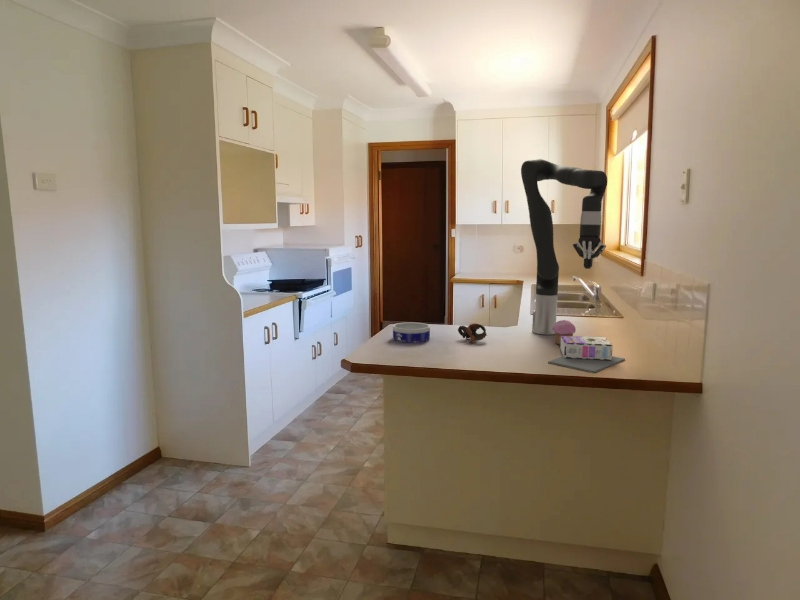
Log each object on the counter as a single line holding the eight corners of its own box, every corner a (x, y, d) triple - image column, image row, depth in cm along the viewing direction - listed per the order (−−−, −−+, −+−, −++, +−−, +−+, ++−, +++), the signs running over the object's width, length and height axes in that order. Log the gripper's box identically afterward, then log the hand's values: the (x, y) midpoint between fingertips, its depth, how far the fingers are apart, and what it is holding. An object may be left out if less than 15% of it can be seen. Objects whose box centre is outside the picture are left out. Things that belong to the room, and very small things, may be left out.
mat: (548, 363, 193) (548, 361, 192) (580, 351, 209) (580, 350, 209) (594, 372, 181) (594, 371, 181) (624, 360, 198) (624, 358, 198)
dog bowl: (386, 341, 224) (386, 326, 224) (403, 334, 238) (403, 320, 237) (419, 345, 217) (420, 330, 217) (435, 338, 231) (435, 324, 230)
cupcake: (568, 342, 226) (569, 318, 224) (578, 346, 217) (580, 322, 216) (547, 342, 224) (549, 318, 223) (557, 347, 216) (558, 322, 214)
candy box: (563, 358, 197) (612, 360, 194) (564, 342, 196) (613, 344, 193) (560, 350, 210) (605, 352, 207) (560, 335, 209) (606, 336, 206)
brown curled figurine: (485, 339, 231) (490, 325, 225) (480, 354, 223) (484, 339, 218) (458, 331, 233) (462, 316, 228) (452, 344, 226) (456, 330, 221)
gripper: (569, 223, 213) (567, 267, 216) (602, 223, 204) (599, 270, 206) (579, 223, 218) (576, 266, 221) (611, 223, 209) (608, 269, 212)
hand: (587, 268), depth 214 cm, fingers closed
